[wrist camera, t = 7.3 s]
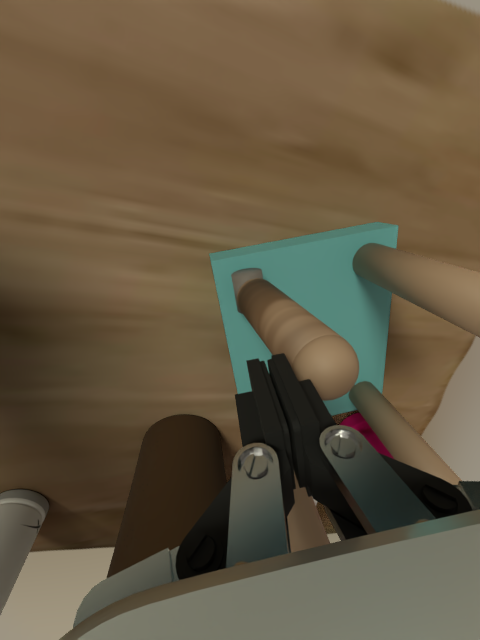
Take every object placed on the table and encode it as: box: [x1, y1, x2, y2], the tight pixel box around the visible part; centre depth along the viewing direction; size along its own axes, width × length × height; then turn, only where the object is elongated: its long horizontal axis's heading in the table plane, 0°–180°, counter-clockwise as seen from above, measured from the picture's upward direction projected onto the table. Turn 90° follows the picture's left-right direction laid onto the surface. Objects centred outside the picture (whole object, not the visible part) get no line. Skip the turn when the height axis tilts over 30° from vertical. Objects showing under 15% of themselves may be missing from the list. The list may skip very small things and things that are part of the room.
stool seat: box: [209, 222, 480, 552], centre depth 22 cm, size 20×16×17 cm
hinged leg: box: [231, 268, 359, 401], centre depth 17 cm, size 3×3×14 cm
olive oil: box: [107, 415, 227, 578], centre depth 23 cm, size 11×11×25 cm
